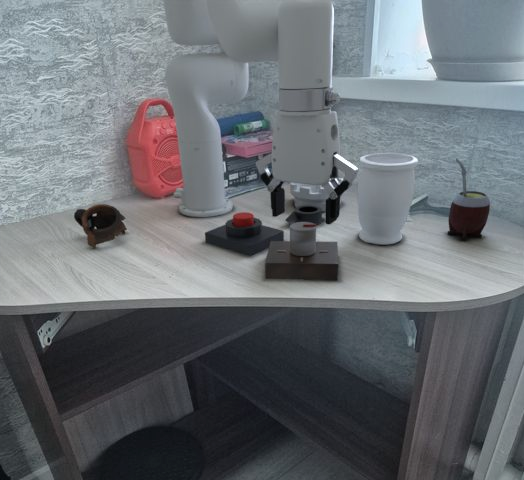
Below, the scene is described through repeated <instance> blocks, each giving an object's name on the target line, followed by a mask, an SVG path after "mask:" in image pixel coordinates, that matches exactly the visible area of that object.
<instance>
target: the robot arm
mask: <svg viewBox="0 0 524 480" xmlns="http://www.w3.org/2000/svg"><path fill="white" fill-rule="evenodd" d="M163 8H164V15H165V21H166V26H167V32H168V35H169V37H170V39H171V40H172V41H173V42H174V43H175V44H177V45H181V46H187V47H188V46H192V47H194V46H195V47H196V46H214V45H216V46H218V48H219V52H199V53H198V52H197V53H185V54H180V55H177V56H175V57H173V58H172V59H170V61H168V63H167V65H166V66H165V67H166V68H165V74H164V75H165V84H166V88H167V92H168V95H169V98H170V99H169V100H170V103H171V106H172V111H173V116H174V122H175V128H176V137H177V145H178V146H177V147H178V153H179V160H180V161H179V162H180V169H181V178H182V185H183V187H176V189H175V191H174V192H173V198H175V199H180V200H181V204H180V205H179V207H178V208H179V213H180V214H182V215H184V216H187V217H192V218H210V217H217V216H221V215H225V214H227V213H230V212H231V211H232V210H233V207H234V206H233V205H234V204H233V201H231V200H230V199H227V198H226V186H225V185H226V184H225V173H224V171H225V170H224V159H223V158H224V157H223V147H222V146H223V145H222V134H221V127H220V124H219V122H218V121H217V119H216V117H215V116H214V115H213V113H212V112H211V111H210V110H209V107H210V106H215V105H224V104H233V103H238V102H241V101H242V100H243V99H244V98H245V97H246V96H247V93H248V90H249V84H250V83H249V82H250V73H249V71H250V70H249V69H250V68H249V64H251V63H262V62H263V63H264V62H278V91H279V92H278V93H279V94H278V101H279V111H277V112H276V113H275V116H274V117H275V118H274V123H273V130H272V139H271V141H272V142H271V153H268V154H267V155H265V156H263V157H261V158H260V159H258V160H257V161H256V162H255V167H256V169H257V171H258V174H259V175H260V180H261V181H262V182H263V184H264V185H265V186H266V189H267V191H268V192H269V193H270V209H271V213H272V214H271V215H272V217H275V218H276V217H278V216H280V215H282V214H284V213H285V212H286V191H285V188H284V187H283V186H284V184H285V183H289V184H290V183H300V184H310V185H322V186H323V188H324V189H325V191H326V192H327V194H328V195H329V198H328V199H326V212H325V213H324V214H325V216H324V224H326V225H331V224H332V223H334V222H336V221H337V220H338V218H339V216H340V212H341V205H340V196H341V195H342V194H343V193H344V192H345V191H346V192H347V190H348V189H350V187H351V186H352V185H353V182H354V180H355V179H356V177H357V175H358V174H359V168H358V167H357V166H355V165H354V164H353V163H351V162H350V161H348V160H346V159H345V158H344V157H342V156H341V140H340V139H341V138H340V127H339V119H338V113H337V111H335V110H332V108H333V105H335V104H336V105H338V104H339V103H340V102H341V101H340V100H341V95H340V93H339V92H335V91H334V87H333V86H332V84H333V83H332V82H333V60H334V59H333V54H334V53H333V52H334V49H333V48H334V26H335V25H334V23H335V9H334V5H333V2H332V0H163ZM270 164H271V171H270V170H269V165H270ZM341 172H343V173H344V177H343V178H344V180H343V181H342V182H341V183H340V184H339V180H338V179H339V178H340V174H341Z"/></svg>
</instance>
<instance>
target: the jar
mask: <svg viewBox="0 0 524 480" xmlns="http://www.w3.org/2000/svg"><path fill="white" fill-rule="evenodd" d="M359 165H360V166H361V170H360V173H359V177H358V182H357V188H356V189H357V191H356V202H357V208H358V209H357V214H358V215H357V216H358V222H359V225H360V227H361V230H360V231H359V235H358V237H359V238H360V240H361V241H363V242H365V243H368V244H372V245H379V246H381V245H382V246H385V245H387V246H388V245H393V244H397V243H398V242H400V241H401V240H402V239H403V233H402V232H401V231H402V230H403V228H404V227H405V224H406V223H407V220H408V217H409V213H410V210H411V208H412V207H411V206H412V204H413V200H414V194H415V187H416V186H415V185H416V183H415V182H416V178H415V171H414V170H415V168H416V167H417V166H418V165H419V158H417V156H415V155H411V154H406V153H399V152H378V153H377V152H376V153H370V154H365V155H363V156H360V157H359Z"/></svg>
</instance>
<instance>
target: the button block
mask: <svg viewBox="0 0 524 480" xmlns="http://www.w3.org/2000/svg"><path fill="white" fill-rule="evenodd" d="M284 237H285V231H284V230H282V229H280V228H279V229H278V228H275V227H271V226H267V225H263V222H262V220H260V218H257V217H254V224H253V225H251V226H245V227H239V226H234V225H233V218H231V219H228V220H227V221H225V224H223V225H221V226H217V227H215V228H213V229H210V230H208V231H205V232H204V238H205V239H204V240H205V243H206V244H209V245H211V246H214V247H218V248H222V249H224V250H228V251H231V252H234V253H237V254H240V255H243V256H247V257H252V256H254V255H257V254H259V253H260V252H263V251H265V250H267V249H269V246H270V242H271V241H285V238H284Z"/></svg>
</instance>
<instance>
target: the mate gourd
mask: <svg viewBox="0 0 524 480" xmlns="http://www.w3.org/2000/svg"><path fill="white" fill-rule="evenodd" d="M455 161H456V163H457V164H458V165H459V167H460V169H461V172H460V173H461V176H462V191H459V192H458V193H456V194H455V196H454V197H453V198H452V201H451V203H450V204H451V205H450V207H449V214H448V219H447V221H448V231H447V235H449V236H459V237H461V239H460V240H461V241H462V242H466V241H467V237H469V238H470V237H471V238H479V239H481V238H482V236H483V234H482V232H483V230H484V228H485V226H486V225H487V221H488V218H489V215H490V210H491V200H490V198H489V196H488V194H486V193H485V192H483V191H478V190H467V169H466V168H465V166H464V164H463V163H462V161H460V160H459V159H458V158H455Z"/></svg>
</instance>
